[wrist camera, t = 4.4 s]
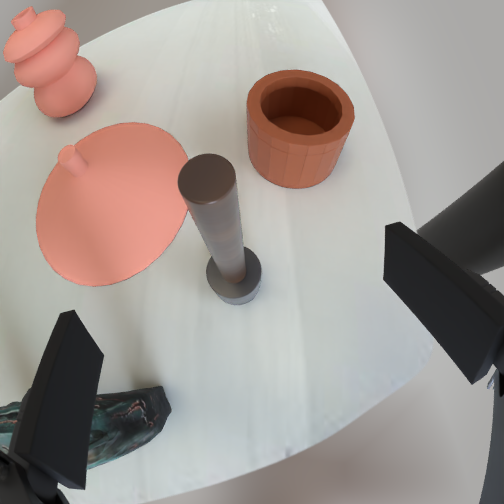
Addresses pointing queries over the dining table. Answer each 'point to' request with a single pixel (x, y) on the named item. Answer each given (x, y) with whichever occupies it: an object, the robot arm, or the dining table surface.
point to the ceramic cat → (110, 423)
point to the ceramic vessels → (95, 167)
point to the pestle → (220, 227)
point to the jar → (297, 127)
